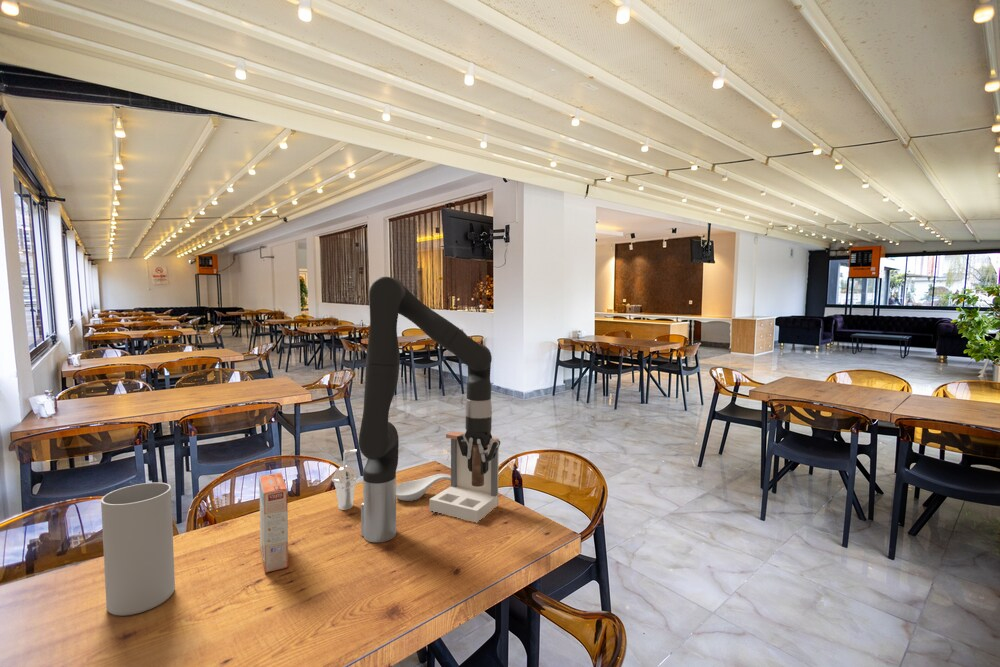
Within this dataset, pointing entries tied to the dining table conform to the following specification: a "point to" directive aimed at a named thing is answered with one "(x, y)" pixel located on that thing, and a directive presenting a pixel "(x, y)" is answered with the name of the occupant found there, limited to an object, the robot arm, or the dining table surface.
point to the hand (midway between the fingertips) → (478, 471)
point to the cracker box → (273, 522)
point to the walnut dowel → (476, 467)
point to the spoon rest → (417, 487)
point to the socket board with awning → (467, 487)
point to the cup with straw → (345, 484)
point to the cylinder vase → (138, 547)
